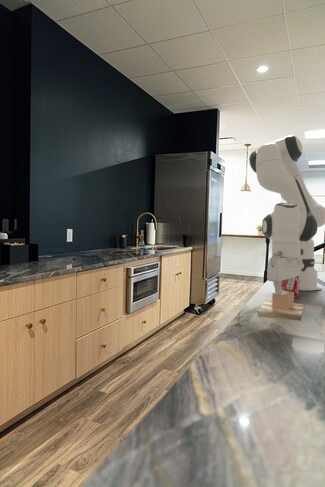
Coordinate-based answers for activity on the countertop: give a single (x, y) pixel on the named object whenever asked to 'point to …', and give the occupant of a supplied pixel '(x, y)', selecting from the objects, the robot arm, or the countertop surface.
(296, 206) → the robot arm
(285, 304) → the block
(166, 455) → the countertop surface
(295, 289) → the soda can
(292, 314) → the pin plate
